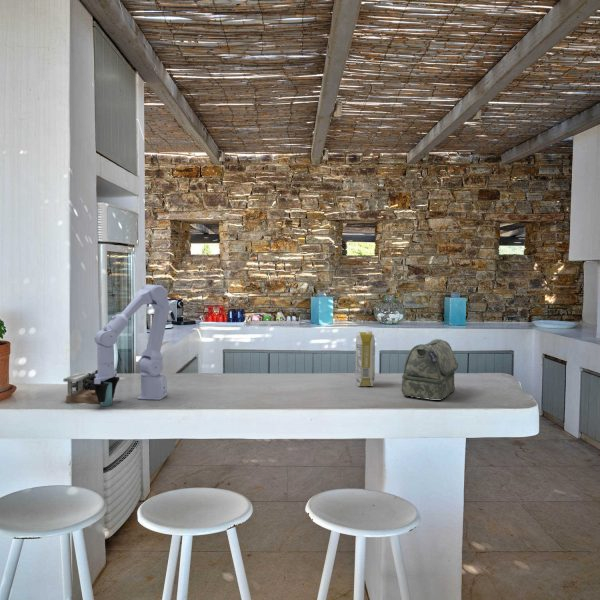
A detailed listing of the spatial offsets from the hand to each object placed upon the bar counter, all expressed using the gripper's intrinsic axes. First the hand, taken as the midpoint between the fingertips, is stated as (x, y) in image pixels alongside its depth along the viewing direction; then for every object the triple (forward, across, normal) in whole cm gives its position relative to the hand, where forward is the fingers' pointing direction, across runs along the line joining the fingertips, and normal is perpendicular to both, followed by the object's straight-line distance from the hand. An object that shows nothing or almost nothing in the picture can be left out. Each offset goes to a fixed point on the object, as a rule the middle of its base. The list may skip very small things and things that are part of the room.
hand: (106, 399), depth 205 cm
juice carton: (+2, -46, +96) cm, 106 cm away
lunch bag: (+2, -33, +122) cm, 126 cm away
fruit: (+2, -21, -16) cm, 27 cm away
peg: (+2, 0, 0) cm, 2 cm away
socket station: (+2, -6, -9) cm, 11 cm away
